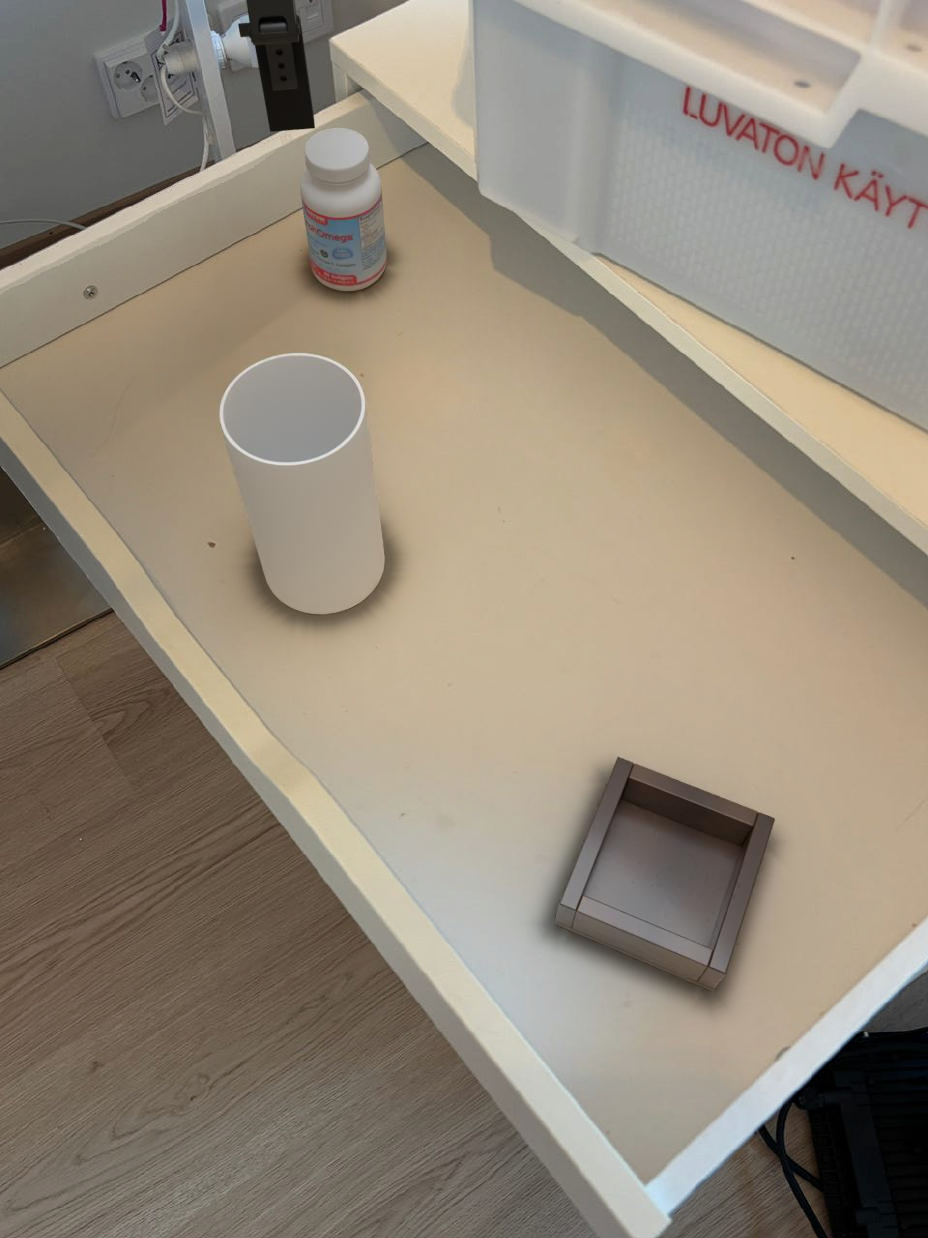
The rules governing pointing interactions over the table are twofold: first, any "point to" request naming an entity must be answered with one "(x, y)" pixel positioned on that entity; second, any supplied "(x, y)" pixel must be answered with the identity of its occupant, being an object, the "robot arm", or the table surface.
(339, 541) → the cup
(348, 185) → the pill bottle
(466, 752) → the table surface
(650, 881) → the brown square shallow tray
